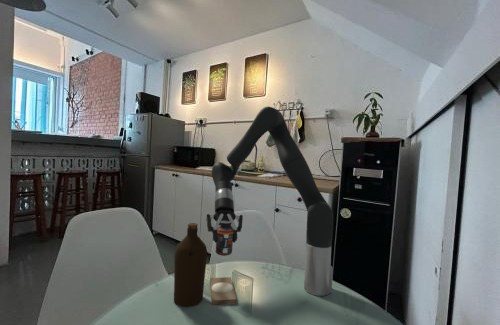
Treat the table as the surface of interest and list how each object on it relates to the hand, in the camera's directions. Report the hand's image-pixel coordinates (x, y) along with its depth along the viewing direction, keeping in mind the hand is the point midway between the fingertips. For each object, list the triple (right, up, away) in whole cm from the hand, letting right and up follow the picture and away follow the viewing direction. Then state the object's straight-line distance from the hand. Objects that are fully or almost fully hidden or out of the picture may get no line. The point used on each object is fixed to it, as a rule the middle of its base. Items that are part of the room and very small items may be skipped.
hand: (225, 241), depth 86 cm
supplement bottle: (-1, -5, +2) cm, 5 cm away
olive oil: (-12, -18, -5) cm, 22 cm away
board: (-1, -18, +1) cm, 19 cm away
